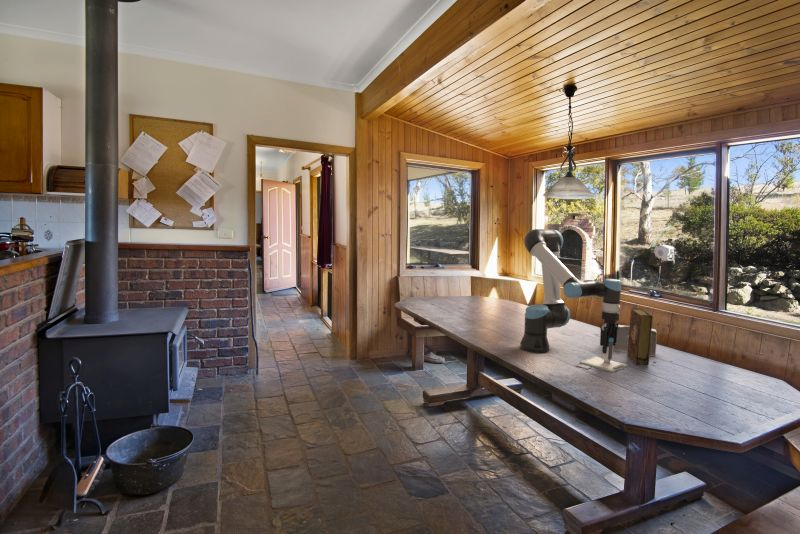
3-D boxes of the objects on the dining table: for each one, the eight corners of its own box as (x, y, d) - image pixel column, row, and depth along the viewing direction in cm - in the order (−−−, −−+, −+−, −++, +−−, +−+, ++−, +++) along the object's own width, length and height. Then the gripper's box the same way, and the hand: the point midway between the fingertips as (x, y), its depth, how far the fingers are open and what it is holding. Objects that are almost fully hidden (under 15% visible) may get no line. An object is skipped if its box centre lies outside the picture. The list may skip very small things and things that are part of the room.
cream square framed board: (579, 363, 219) (579, 360, 219) (595, 357, 229) (595, 354, 228) (612, 372, 207) (612, 369, 207) (627, 366, 216) (627, 363, 216)
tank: (654, 349, 247) (656, 326, 245) (655, 356, 233) (657, 333, 231) (604, 342, 258) (606, 320, 257) (602, 349, 244) (604, 326, 243)
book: (626, 355, 234) (630, 308, 231) (637, 356, 233) (641, 308, 230) (636, 365, 218) (640, 314, 215) (648, 366, 217) (653, 315, 214)
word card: (575, 365, 215) (575, 365, 215) (579, 364, 218) (579, 363, 217) (587, 369, 210) (587, 368, 210) (591, 367, 213) (591, 366, 213)
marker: (600, 361, 218) (602, 337, 217) (605, 360, 221) (606, 336, 219) (609, 363, 215) (610, 339, 214) (613, 362, 218) (615, 338, 216)
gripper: (609, 315, 207) (605, 364, 210) (626, 310, 218) (623, 357, 220) (593, 312, 213) (590, 359, 216) (611, 308, 223) (608, 353, 226)
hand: (607, 358), depth 218 cm, fingers closed on marker, 4 cm apart
